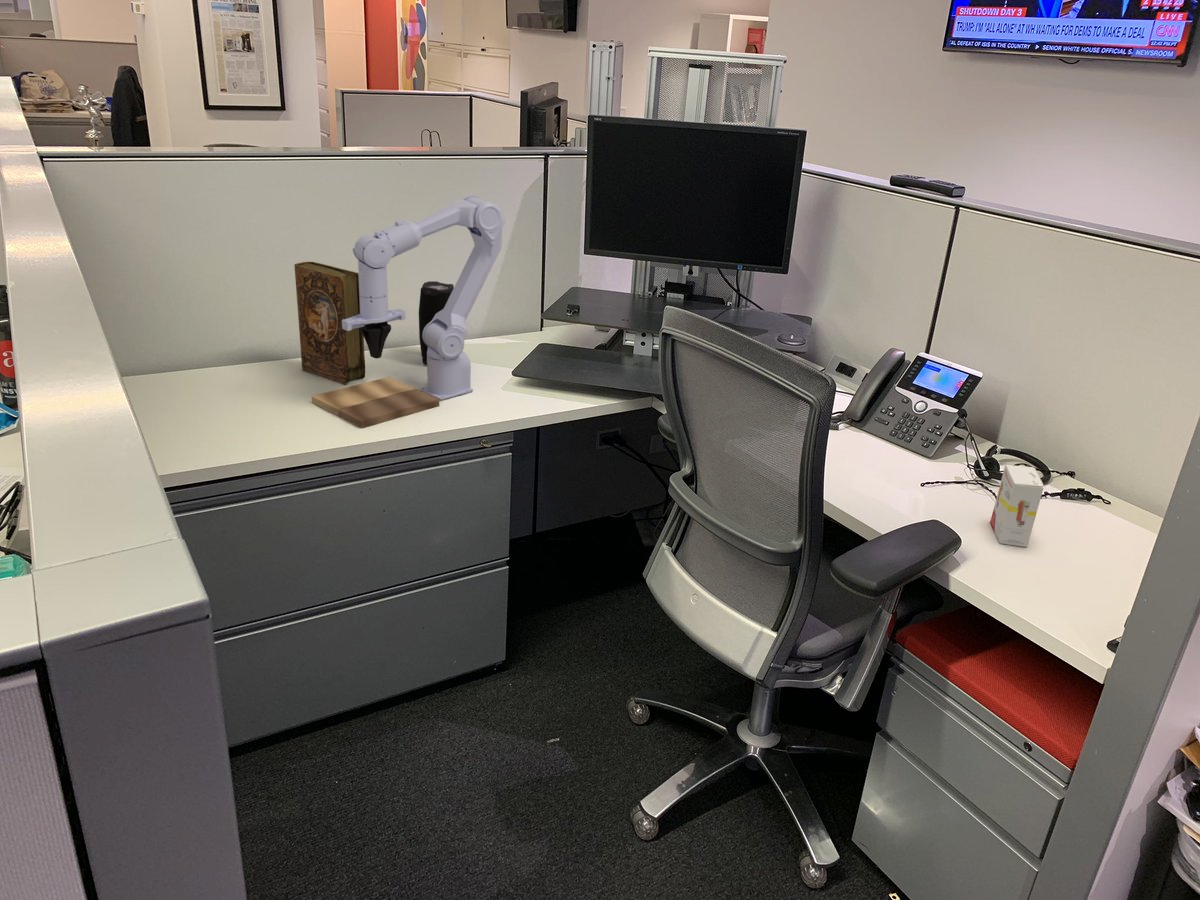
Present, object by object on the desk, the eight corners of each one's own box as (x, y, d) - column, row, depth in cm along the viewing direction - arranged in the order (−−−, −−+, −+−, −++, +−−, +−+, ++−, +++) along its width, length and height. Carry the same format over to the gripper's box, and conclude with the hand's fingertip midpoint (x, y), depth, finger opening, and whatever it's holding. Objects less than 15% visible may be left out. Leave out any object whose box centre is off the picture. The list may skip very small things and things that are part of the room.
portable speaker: (463, 360, 228) (463, 284, 220) (441, 371, 220) (441, 291, 212) (434, 354, 231) (433, 278, 223) (412, 364, 223) (410, 285, 215)
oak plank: (389, 382, 210) (388, 376, 209) (415, 394, 204) (415, 388, 203) (312, 402, 196) (311, 396, 196) (338, 415, 190) (337, 409, 190)
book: (298, 369, 214) (290, 264, 204) (316, 364, 219) (309, 260, 208) (348, 386, 207) (342, 277, 196) (365, 379, 211) (360, 273, 201)
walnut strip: (416, 395, 204) (416, 388, 203) (439, 405, 199) (439, 399, 198) (339, 416, 190) (338, 409, 189) (361, 428, 185) (361, 421, 185)
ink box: (988, 521, 165) (1004, 462, 160) (1017, 525, 164) (1034, 466, 159) (997, 543, 157) (1014, 482, 152) (1027, 548, 156) (1045, 487, 152)
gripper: (390, 285, 196) (392, 346, 202) (332, 295, 186) (335, 358, 192) (410, 292, 192) (412, 354, 198) (351, 303, 182) (355, 367, 188)
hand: (375, 357), depth 195 cm, fingers closed
